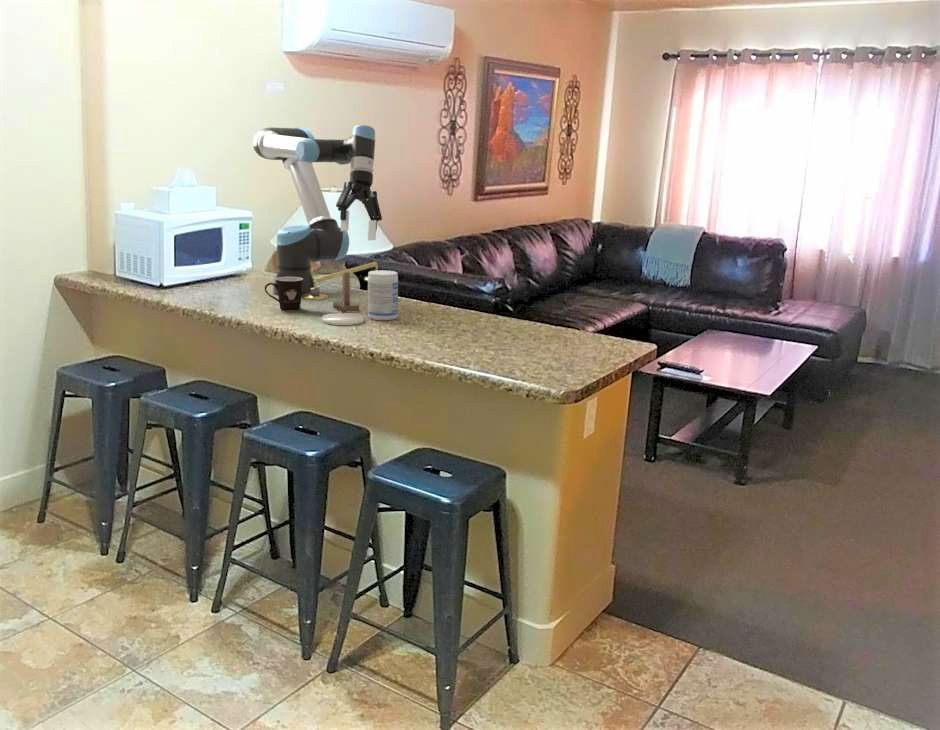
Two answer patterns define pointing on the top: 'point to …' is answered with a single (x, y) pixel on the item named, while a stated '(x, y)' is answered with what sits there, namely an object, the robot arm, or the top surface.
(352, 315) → the plate
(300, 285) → the coffee mug
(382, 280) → the supplement tub
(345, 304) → the balance
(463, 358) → the top surface
